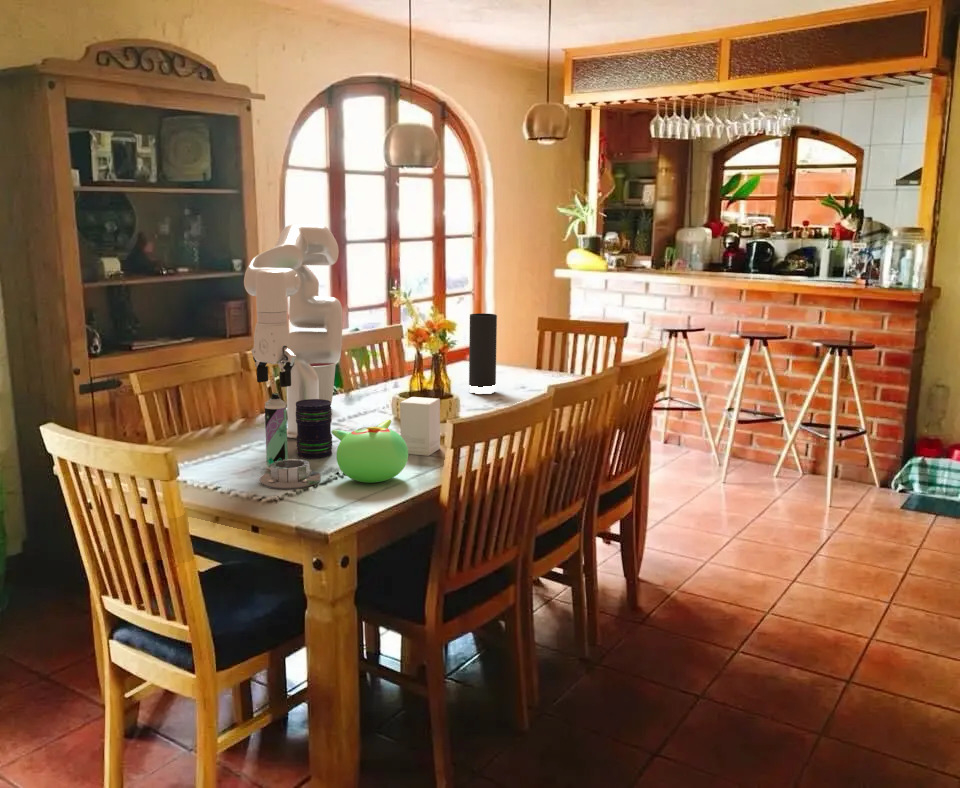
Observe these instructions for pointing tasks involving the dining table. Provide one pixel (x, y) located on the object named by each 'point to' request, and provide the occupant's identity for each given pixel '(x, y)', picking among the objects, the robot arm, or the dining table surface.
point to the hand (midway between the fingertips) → (274, 384)
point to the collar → (290, 475)
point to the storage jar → (314, 428)
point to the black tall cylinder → (482, 349)
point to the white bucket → (325, 379)
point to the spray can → (275, 430)
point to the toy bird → (371, 453)
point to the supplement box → (420, 425)
